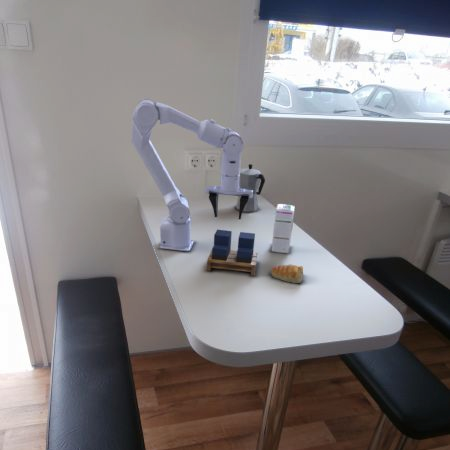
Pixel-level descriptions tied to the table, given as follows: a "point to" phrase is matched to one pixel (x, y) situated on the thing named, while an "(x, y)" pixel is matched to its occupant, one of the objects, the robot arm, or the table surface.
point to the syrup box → (283, 228)
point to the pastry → (288, 273)
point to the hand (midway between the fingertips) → (227, 217)
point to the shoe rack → (230, 261)
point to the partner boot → (245, 247)
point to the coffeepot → (250, 187)
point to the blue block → (221, 245)
